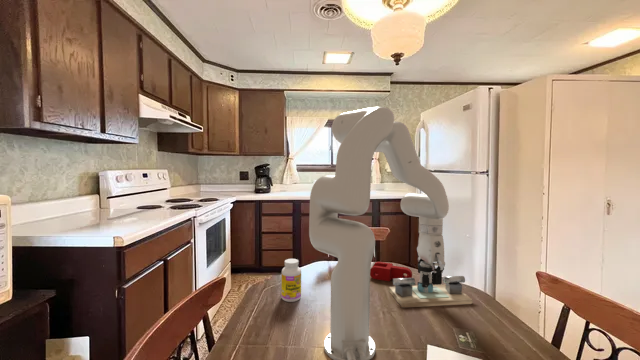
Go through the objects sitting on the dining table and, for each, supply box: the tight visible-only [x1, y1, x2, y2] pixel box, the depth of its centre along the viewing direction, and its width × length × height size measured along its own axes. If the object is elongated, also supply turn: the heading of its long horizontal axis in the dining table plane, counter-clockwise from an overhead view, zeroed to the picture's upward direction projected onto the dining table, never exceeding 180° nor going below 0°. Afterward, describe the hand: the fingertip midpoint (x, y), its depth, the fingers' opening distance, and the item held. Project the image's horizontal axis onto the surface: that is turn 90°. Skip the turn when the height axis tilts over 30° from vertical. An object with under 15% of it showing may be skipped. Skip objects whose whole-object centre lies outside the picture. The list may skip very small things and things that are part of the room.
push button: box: [416, 261, 437, 293], centre depth 98 cm, size 7×5×10 cm
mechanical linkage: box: [370, 261, 413, 282], centre depth 114 cm, size 16×7×5 cm, turn 67°
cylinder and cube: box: [392, 275, 466, 297], centre depth 97 cm, size 5×25×5 cm, turn 96°
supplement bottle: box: [280, 258, 302, 303], centre depth 96 cm, size 7×7×13 cm
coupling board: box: [388, 283, 474, 308], centre depth 98 cm, size 12×24×2 cm, turn 96°
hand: (429, 278), depth 97 cm, fingers open, 9 cm apart
